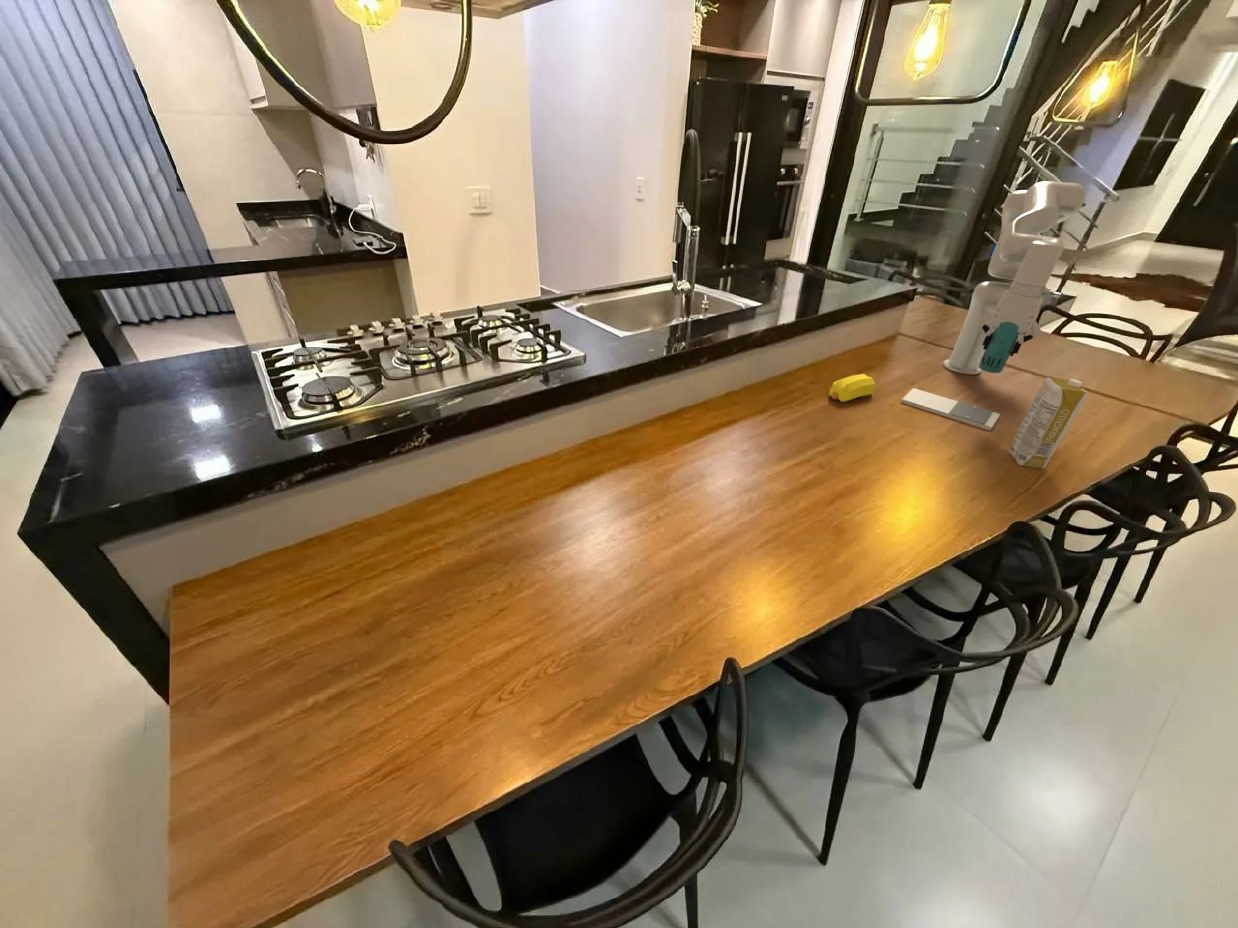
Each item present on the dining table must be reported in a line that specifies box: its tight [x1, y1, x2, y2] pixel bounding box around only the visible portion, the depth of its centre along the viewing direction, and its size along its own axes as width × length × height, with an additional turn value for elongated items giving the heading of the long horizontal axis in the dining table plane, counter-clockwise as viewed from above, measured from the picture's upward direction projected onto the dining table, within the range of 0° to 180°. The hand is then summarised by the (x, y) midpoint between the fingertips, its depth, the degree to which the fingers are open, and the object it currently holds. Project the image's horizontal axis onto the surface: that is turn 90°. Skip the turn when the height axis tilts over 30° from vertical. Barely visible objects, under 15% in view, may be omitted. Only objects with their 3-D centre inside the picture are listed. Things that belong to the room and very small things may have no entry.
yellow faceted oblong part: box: [828, 373, 876, 403], centre depth 176 cm, size 18×7×8 cm
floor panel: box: [900, 387, 1001, 431], centre depth 172 cm, size 12×26×2 cm, turn 49°
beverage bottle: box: [978, 322, 1019, 374], centre depth 156 cm, size 6×7×20 cm
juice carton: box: [1008, 376, 1089, 469], centre depth 141 cm, size 9×8×24 cm
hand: (998, 351), depth 157 cm, fingers closed on beverage bottle, 6 cm apart
